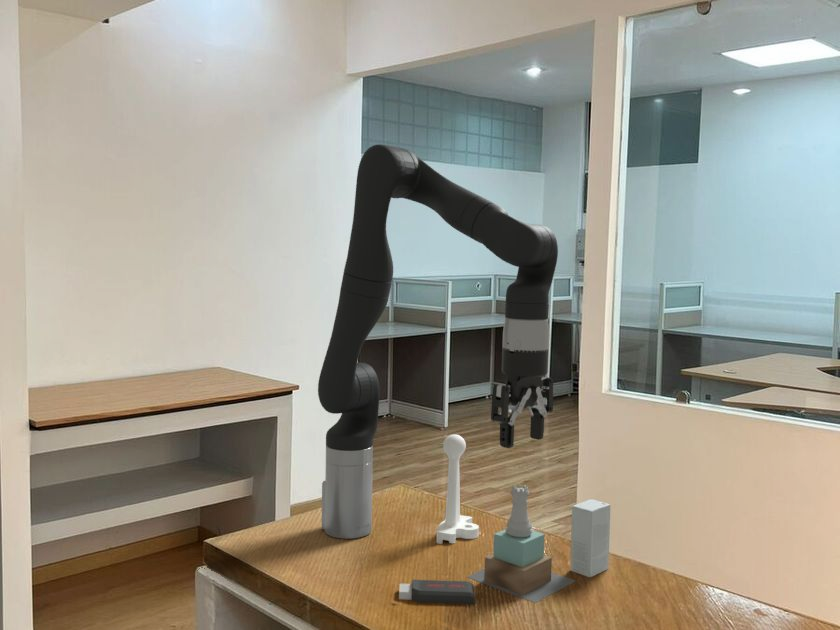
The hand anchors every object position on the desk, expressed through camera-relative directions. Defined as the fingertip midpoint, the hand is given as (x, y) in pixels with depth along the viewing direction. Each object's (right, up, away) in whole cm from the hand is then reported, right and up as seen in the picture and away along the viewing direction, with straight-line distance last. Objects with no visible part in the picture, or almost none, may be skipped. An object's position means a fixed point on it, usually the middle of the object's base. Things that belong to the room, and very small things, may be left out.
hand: (521, 442), depth 129 cm
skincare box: (+13, -24, +7) cm, 28 cm away
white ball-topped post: (-9, -22, +23) cm, 33 cm away
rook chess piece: (0, -16, +1) cm, 16 cm away
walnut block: (-1, -23, +2) cm, 24 cm away
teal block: (0, -19, +1) cm, 20 cm away
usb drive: (-14, -25, -5) cm, 29 cm away
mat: (0, -24, +2) cm, 24 cm away
